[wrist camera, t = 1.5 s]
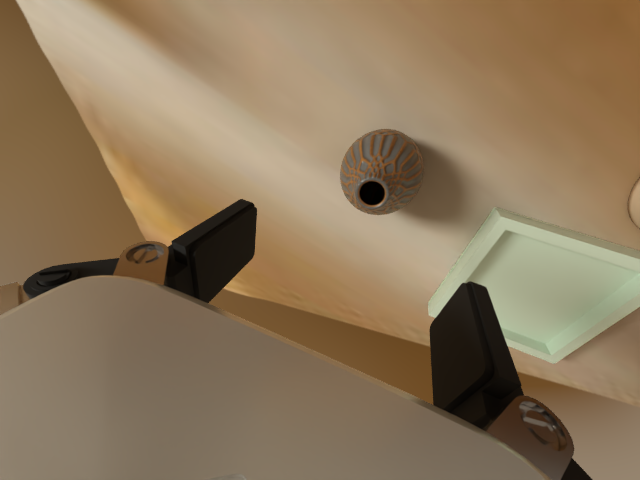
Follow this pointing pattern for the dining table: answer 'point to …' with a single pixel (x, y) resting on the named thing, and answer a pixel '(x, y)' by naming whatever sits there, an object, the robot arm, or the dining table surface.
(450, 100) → the dining table surface
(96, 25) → the dining table surface
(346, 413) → the robot arm
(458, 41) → the dining table surface
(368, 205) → the vase
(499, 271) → the tray
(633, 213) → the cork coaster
